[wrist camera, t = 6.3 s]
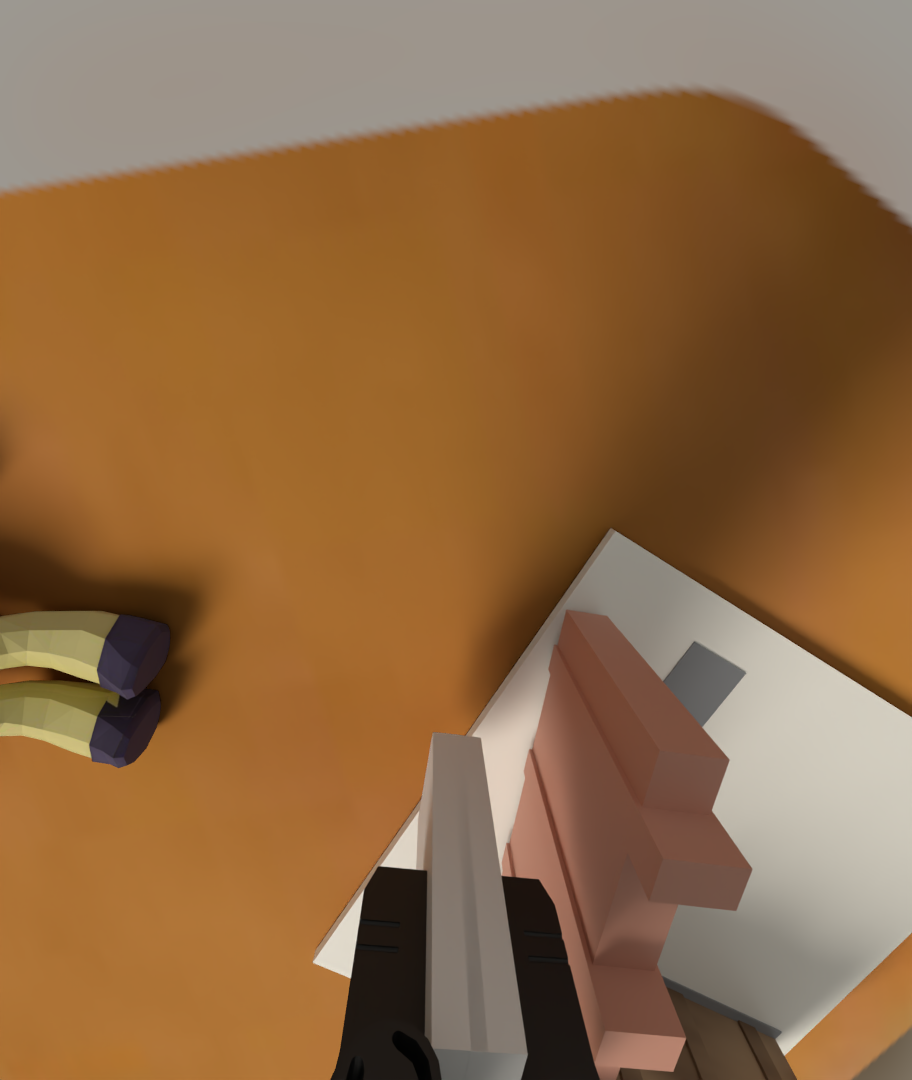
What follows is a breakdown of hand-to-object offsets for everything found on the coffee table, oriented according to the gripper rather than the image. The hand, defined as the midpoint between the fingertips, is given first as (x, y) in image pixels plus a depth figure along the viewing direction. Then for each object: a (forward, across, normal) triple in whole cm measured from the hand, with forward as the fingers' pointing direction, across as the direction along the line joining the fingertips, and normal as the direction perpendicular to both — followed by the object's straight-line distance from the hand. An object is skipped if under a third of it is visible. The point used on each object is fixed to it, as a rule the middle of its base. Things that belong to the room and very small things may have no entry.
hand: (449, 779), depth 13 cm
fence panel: (+2, +3, 0) cm, 4 cm away
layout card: (+2, +8, -5) cm, 10 cm away
